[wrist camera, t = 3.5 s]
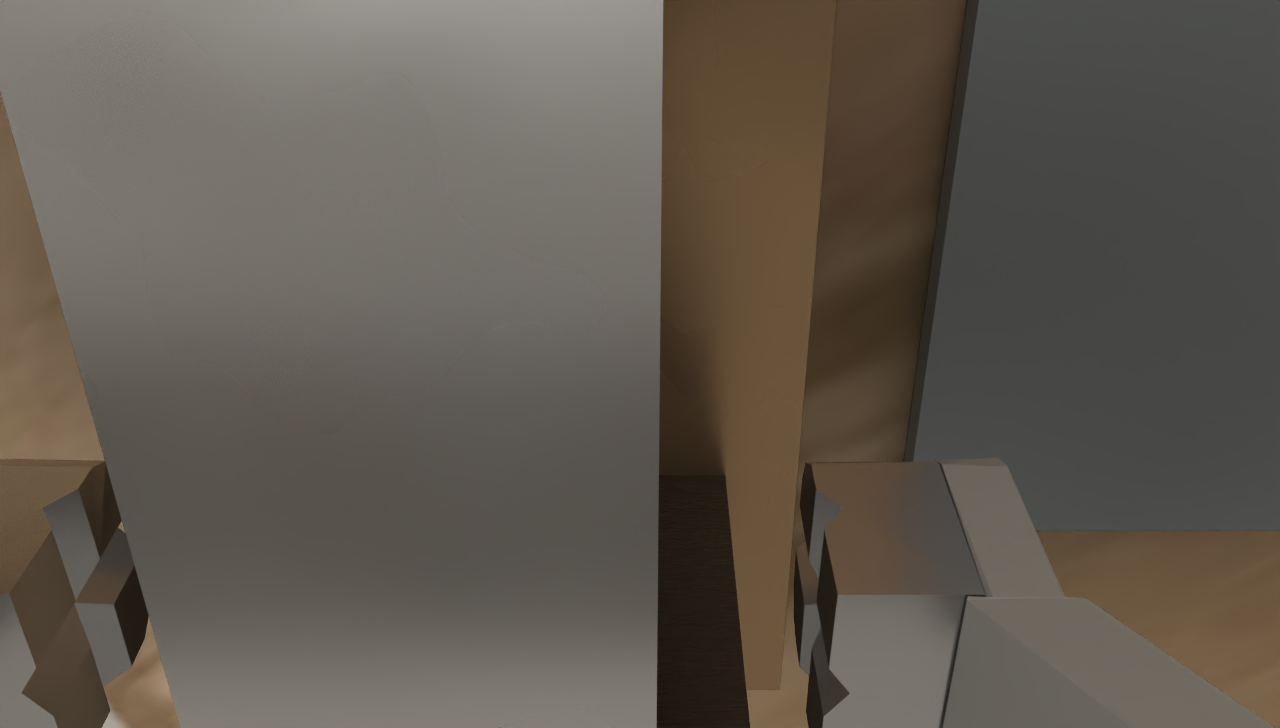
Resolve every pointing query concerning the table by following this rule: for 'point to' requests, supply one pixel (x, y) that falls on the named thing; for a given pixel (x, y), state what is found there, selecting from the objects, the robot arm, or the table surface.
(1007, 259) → the mat
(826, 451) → the table surface
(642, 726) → the rail
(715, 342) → the rack
